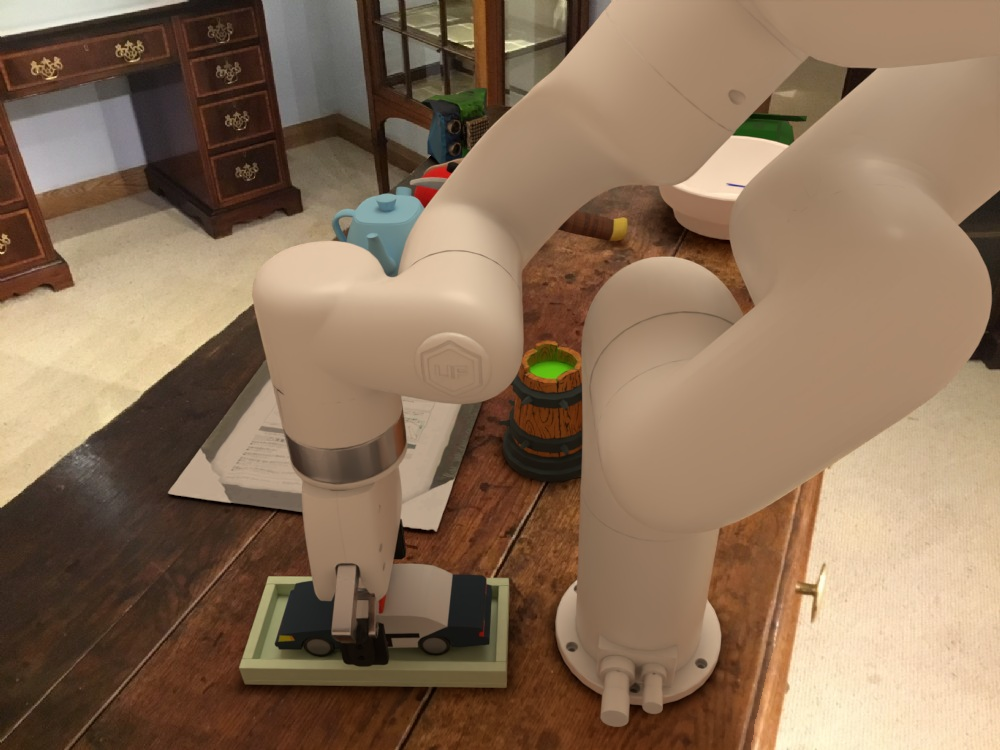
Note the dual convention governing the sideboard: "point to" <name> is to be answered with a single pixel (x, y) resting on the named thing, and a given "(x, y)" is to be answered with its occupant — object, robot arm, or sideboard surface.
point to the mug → (546, 415)
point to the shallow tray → (402, 669)
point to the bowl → (719, 185)
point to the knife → (574, 224)
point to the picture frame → (273, 483)
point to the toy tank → (769, 127)
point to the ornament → (428, 193)
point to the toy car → (399, 612)
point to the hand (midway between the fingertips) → (377, 605)
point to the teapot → (382, 226)
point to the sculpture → (456, 123)
